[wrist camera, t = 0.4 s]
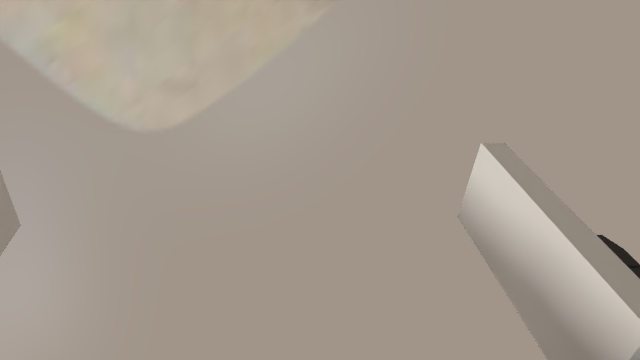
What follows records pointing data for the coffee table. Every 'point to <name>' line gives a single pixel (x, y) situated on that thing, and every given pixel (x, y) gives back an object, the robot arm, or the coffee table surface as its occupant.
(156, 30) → the coffee table surface
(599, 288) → the robot arm
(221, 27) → the coffee table surface
